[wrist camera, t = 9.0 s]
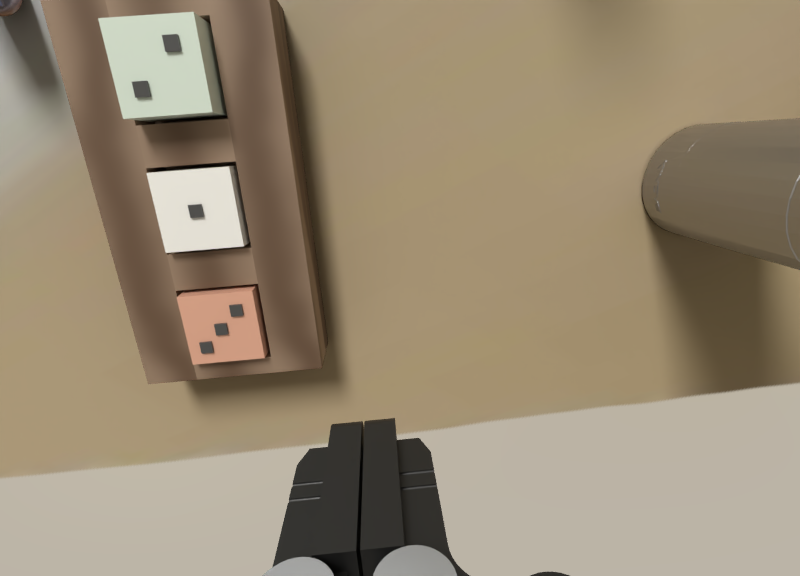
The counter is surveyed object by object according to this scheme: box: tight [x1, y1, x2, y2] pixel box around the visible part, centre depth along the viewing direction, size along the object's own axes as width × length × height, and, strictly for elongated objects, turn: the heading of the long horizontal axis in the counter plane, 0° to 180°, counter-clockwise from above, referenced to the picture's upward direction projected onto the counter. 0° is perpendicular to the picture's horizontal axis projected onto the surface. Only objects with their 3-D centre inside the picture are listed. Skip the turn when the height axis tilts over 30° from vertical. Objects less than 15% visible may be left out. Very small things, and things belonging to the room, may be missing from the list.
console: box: [40, 0, 328, 384], centre depth 34 cm, size 14×27×5 cm, turn 4°
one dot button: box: [146, 165, 250, 253], centre depth 33 cm, size 6×6×4 cm
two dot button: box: [98, 12, 227, 122], centre depth 29 cm, size 6×6×4 cm
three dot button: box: [177, 284, 270, 365], centre depth 36 cm, size 6×6×4 cm
